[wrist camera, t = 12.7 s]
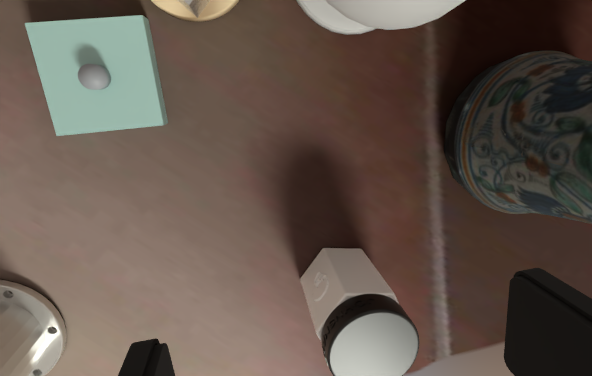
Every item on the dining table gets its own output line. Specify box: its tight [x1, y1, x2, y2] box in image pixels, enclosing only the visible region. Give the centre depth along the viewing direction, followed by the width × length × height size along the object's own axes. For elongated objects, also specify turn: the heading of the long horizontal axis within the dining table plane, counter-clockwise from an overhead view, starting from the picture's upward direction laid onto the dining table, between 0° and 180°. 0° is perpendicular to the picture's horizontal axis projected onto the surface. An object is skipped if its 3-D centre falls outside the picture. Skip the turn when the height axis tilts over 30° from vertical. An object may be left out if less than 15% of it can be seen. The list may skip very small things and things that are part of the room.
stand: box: [25, 15, 168, 136], centre depth 30 cm, size 9×9×4 cm
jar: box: [300, 248, 419, 376], centre depth 36 cm, size 9×8×12 cm
